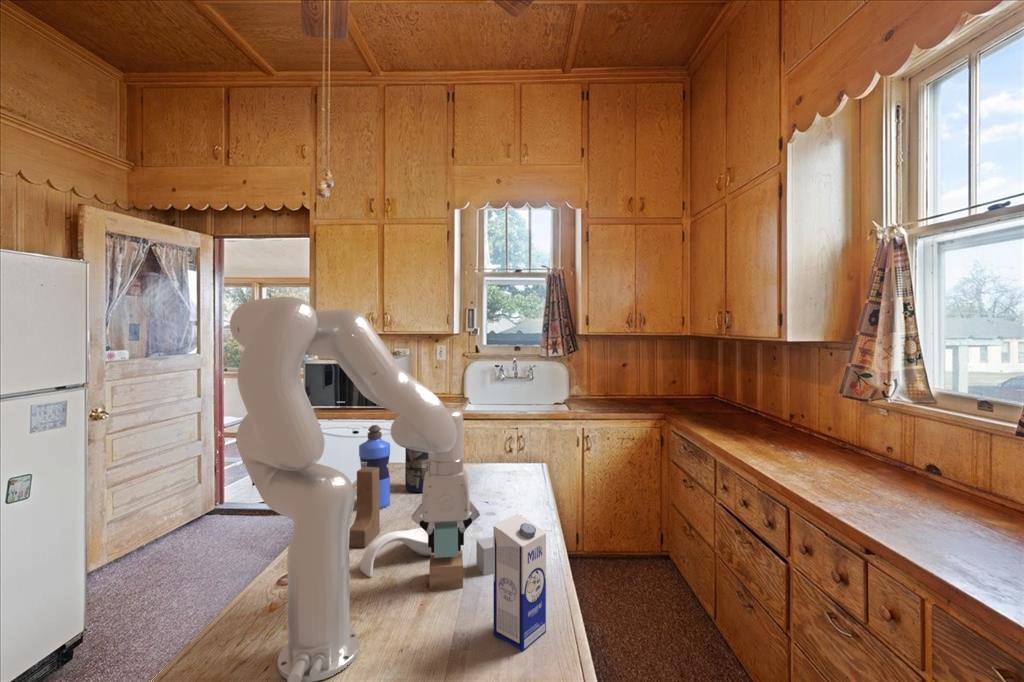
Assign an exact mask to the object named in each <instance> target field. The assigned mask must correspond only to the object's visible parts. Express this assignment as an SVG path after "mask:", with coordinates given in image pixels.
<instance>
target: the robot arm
mask: <svg viewBox="0 0 1024 682" xmlns="http://www.w3.org/2000/svg"><path fill="white" fill-rule="evenodd" d="M229 329H230V333H231V335H232V337H233V338H234V340H235V341H236V343H238V344H239V345H240V346H242V347H244V348H243V351H242V354H241V357H240V359H239V363H238V368H237V378H236V379H237V387H238V390H239V395H240V397H241V400H242V402H243V404H244V406H245V407H244V408H245V409H246V410H245V411H247V414H246V415H245V416H244V417H242V420H241V421H240V423H239V426H238V428H237V432H236V446H237V449H238V452H239V455H240V457H241V459H242V462H243V463H244V465H245V468H246V470H247V472H248V474H249V476H250V478H251V480H252V481H253V484H254V486H255V488H256V490H257V492H258V494H259V495H260V497H261V499H262V501H263V502H264V503H265V505H266V506H267V507H268V508H269V509H271V510H272V511H274V512H275V513H276V514H280V515H281V516H284V517H285V518H287V519H289V520H291V521H293V531H292V535H291V537H290V539H289V544H288V548H287V556H286V557H287V558H286V560H287V561H286V563H287V564H286V565H287V566H286V570H287V571H286V572H287V637H288V638H287V639H288V640H287V644H286V645H284V646H283V648H282V649H281V650H280V652H279V654H278V657H277V658H278V659H277V670H278V673H279V674H280V675H281V676H282V678H284V679H286V680H287V682H319V681H322V680H326V679H328V678H330V677H333V676H335V675H337V674H338V672H339V673H340V672H342V671H343V670H345V669H346V668H347V667H348V666H350V665H351V664H352V663H353V662H354V660H355V659H356V657H357V656H358V654H359V651H360V638H359V635H358V634H357V632H355V631H354V630H353V629H351V621H350V620H351V619H350V617H351V611H350V610H351V607H350V603H351V602H350V600H351V597H350V547H349V534H350V528H351V522H352V517H353V511H354V508H355V507H354V506H355V500H356V498H355V496H356V495H355V494H356V493H355V489H354V485H353V483H352V482H351V480H350V479H349V477H348V476H347V475H345V473H343V472H342V471H340V470H338V469H336V468H334V467H331V466H328V465H323V464H321V463H318V461H320V460H321V458H322V455H324V451H325V445H326V443H325V436H324V433H323V429H322V427H321V424H320V422H319V419H318V418H317V415H316V414H315V411H314V408H313V406H312V404H311V401H310V399H309V396H308V394H307V392H306V388H305V386H304V383H303V380H302V374H301V373H302V371H301V370H302V362H303V359H304V357H305V356H314V357H317V356H318V357H328V358H329V357H331V358H333V359H334V361H335V362H336V363H337V364H338V366H339V367H340V368H341V369H342V370H343V372H344V373H345V374H346V375H347V377H348V378H349V379H350V380H351V382H352V383H353V384H354V386H355V387H356V388H357V390H358V391H359V393H361V395H362V396H363V397H364V398H366V399H367V400H369V401H371V402H372V403H373V404H376V405H378V406H379V407H381V408H384V409H387V410H389V411H391V412H393V413H395V414H397V415H398V416H397V417H396V418H395V419H394V420H393V421H392V423H391V426H390V437H391V438H392V441H393V442H394V443H395V444H397V446H399V447H402V448H407V449H412V450H416V451H422V452H426V453H428V459H427V461H425V462H422V468H427V470H428V471H427V472H426V474H425V477H424V482H423V492H421V493H422V494H421V495H422V496H421V503H420V504H419V506H418V507H417V508H416V510H415V511H414V513H412V515H411V520H412V521H413V522H414V523H416V524H417V525H419V526H420V527H419V528H423V529H424V530H425V531H426V532H427V534H428V548H429V547H431V553H434V524H435V523H436V522H454V521H457V523H458V551H461V550H462V546H464V545H465V531H466V530H467V529H468V528H469V527H470V526H471V525H472V523H473V522H475V521H476V520H477V519H478V518H479V517H480V515H481V514H480V513H481V512H480V510H478V508H477V507H476V506H475V505H474V503H473V502H472V501H471V500H470V498H471V497H470V485H469V479H468V473H467V471H466V469H464V415H463V412H462V411H461V410H460V409H457V408H453V407H451V408H450V407H446V406H445V405H444V402H442V401H441V400H440V398H439V397H438V396H437V395H435V394H434V393H433V392H432V390H430V388H427V387H426V386H425V385H424V384H423V383H422V382H420V381H418V380H417V379H416V378H415V377H414V376H413V375H411V374H409V373H408V372H407V371H405V370H404V369H403V368H402V367H401V365H399V363H398V362H397V360H396V359H395V357H394V356H393V354H392V353H391V352H390V350H389V349H388V347H387V346H386V344H385V343H384V342H383V340H382V338H381V337H380V336H379V334H378V333H377V332H376V330H375V329H374V328H373V325H371V323H370V322H369V320H368V319H367V317H365V315H363V314H362V313H360V312H359V311H356V310H352V309H329V310H327V309H326V310H319V309H314V308H313V307H312V305H311V304H310V303H308V302H307V301H306V300H304V299H302V298H298V297H293V296H277V297H276V296H275V297H268V298H267V297H266V298H256V299H250V300H247V301H245V302H243V303H241V304H240V305H238V307H236V308H235V309H234V311H233V312H232V315H231V316H230V320H229ZM351 662H352V663H351ZM350 663H351V664H350ZM349 664H350V665H349ZM347 665H348V666H347ZM344 668H345V669H344ZM341 670H342V671H341ZM336 673H337V674H336ZM334 674H335V675H334Z"/></svg>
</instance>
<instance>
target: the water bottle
mask: <svg viewBox="0 0 1024 682" xmlns="http://www.w3.org/2000/svg"><path fill="white" fill-rule="evenodd" d="M381 430H382V428H381V427H380V426H379V425H378V424H373V425H371V426H369V428H368V429H367V431H368V432H367V440H366V441H364V442H362V443H360V444H359V445H358V456H359V461H360V462H359V463H360V469H361V468H363V467H379V509H381V510H384V509H386V508H388V507H389V506H390V505H391V482H390V481H391V479H390V478H391V477H390V471H389V465H390V464H389V463H390V455H391V443H390V442H388V441H387V440H383V438H382V436H383V435H382V431H381ZM387 506H388V507H387ZM383 508H384V509H383Z"/></svg>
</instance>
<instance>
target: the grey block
mask: <svg viewBox="0 0 1024 682" xmlns="http://www.w3.org/2000/svg"><path fill="white" fill-rule="evenodd" d="M475 541H476V542H475V543H476V545H475V546H476V548H475V549H476V551H475V552H476V554H475V555H476V557H475V558H476V564H475V565H476V567H477V568H478V570H479V571H480V572H481V574H482V576H488V575H492V574H493V536H491V537H484V538H479V539H476V540H475Z"/></svg>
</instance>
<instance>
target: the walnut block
mask: <svg viewBox="0 0 1024 682" xmlns="http://www.w3.org/2000/svg"><path fill="white" fill-rule="evenodd" d="M428 567H429V576H428V577H429V580H428V581H429V587H428V588H429V591H430V592H431V591H444V590H457V589H464V561H463V550H462V549H461V551H458V556H454V557H439V558H434V553H431V554H430V556H429V566H428Z"/></svg>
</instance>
